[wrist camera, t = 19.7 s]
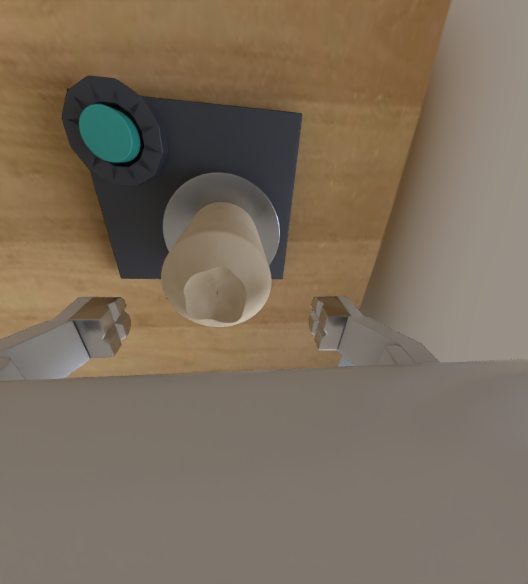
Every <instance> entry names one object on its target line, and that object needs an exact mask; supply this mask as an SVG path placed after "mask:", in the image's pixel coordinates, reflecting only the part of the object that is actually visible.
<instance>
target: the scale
mask: <svg viewBox="0 0 528 584" xmlns="http://www.w3.org/2000/svg"><path fill="white" fill-rule="evenodd" d="M92 104H102V105H106V106H108V107H111V108H113V109H116V110H118V111H120V112H122V113H123V114H125V115H126V116H127V117H128V118H129V119H130V120H131V121H132V122H133V123H134V125H135V127H136V128H137V131H138V133H139V136H140V150H139V153H138V155H137V156H136V157H135V158H134V159H133V160H131V161H129V162H108V161H105V160H103V159H101V158H99V157H98V156H96V155H95V154H94V153H93V152H92V151H91V150H90V149H89V148H88V147H87V145H86V144H85V142H84V141H83V139H82V136H81V133H80V129H79V118H80V115H81V113H82V111H83V110H84V109H85V108H86V107H87V106H89V105H92ZM62 121H63V124H64V127H65V130H66V134H67V137H68V140H69V143H70V146H71V148H72V149H73V150H74V152H75V153H76V154H77V155H78V156H79V158H80V159H81V160H82V161H83V163H84V164H85V165H86V166H87V167H88V169H89V170H90V172H91V176H92V179H93V183H94V186H95V190H96V193H97V196H98V200H99V203H100V207H101V210H102V214H103V217H104V221H105V224H106V228H107V231H108V235H109V238H110V242H111V245H112V249H113V252H114V256H115V259H116V263H117V266H118V270H119V273H120V277H121V278H122V279H161V272H162V267H163V263H164V261H165V259H166V257H167V255H168V254H169V251H168V249H167V246H166V243H165V239H164V235H163V218H164V213H165V210H166V207H167V204H168V202H169V200H170V198H171V197H172V195H173V194H174V193H175V191H176V190H177V189H178V188H179V187H180V186H181V185H183V184H184V183H186V182H187V181H188V180H190V179H192V178H194V177H196V176H199V175H202V174H206V173H212V172H224V173H231V174H234V175H238V176H240V177H243V178H245V179H247V180H249V181H250V182H252V183H253V184H255V185H256V186H257V187H258V188H260V189H261V190H262V192H263V193H264V194H265V195H266V196H267V197H268V199H269V200H270V202H271V203H272V205H273V207H274V209H275V211H276V214H277V217H278V221H279V227H280V239H279V245H278V249H277V252H276V254H275V256H274V259H273V260H272V262H271V263H270V265H269V268H270V273H271V279H283V272H284V264H285V255H286V247H287V239H288V230H289V222H290V214H291V205H292V197H293V189H294V180H295V172H296V163H297V155H298V147H299V138H300V130H301V122H302V113H295V112H286V111H276V110H267V109H257V108H248V107H238V106H229V105H220V104H210V103H201V102H191V101H182V100H172V99H163V98H154V97H144V96H140V95H138V94H137V93H136V92H134V91H133V90H131V89H130V88H129V87H127V86H126V85H124V84H123V83H121V82H120V81H119V80H116V79H114V78H106V77H97V76H86V77H85V78H84V79H82V80H81V81H80V82H78V83H77V84H75V85H74V86H73V87H71V88H70V89H69V88H68V89H67V93H66V98H65V103H64V107H63V112H62Z"/></svg>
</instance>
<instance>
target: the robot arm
mask: <svg viewBox="0 0 528 584" xmlns="http://www.w3.org/2000/svg"><path fill="white" fill-rule="evenodd" d="M312 307H313V310H312V311H311V312H310V315H309V327H310V330H311V333H313V334H314V335H315V339H314V340H315V342H316V345H317V347H318V349H319V350H338V352H339V353H341V354H342V355H343V356H344V357H345V358H347V359H348V360H349V361H350V362H351V363H352V364H354V365H355V366H347V367H322V368H298V369H275V370H251V371H227V372H203V373H179V374H155V375H131V376H107V377H83V378H65V377H66V376H68V375H69V374H71V373H72V372H73V371H75V370H76V369H77V368H79V367H80V366H82V365H83V364H84V363H86V362H87V361H88V360H90V358H101V357H114V356H115V354H116V353H117V351H118V350H119V348H120V346H121V345H122V344H121V341H120V340H122V339H124V338H125V337H127V335H128V333H129V331H130V327H131V320H130V316H129V315H128V314H127V313H126V312H125V311H124V310H125V308H126V304H125V301H124V299H123V298H121V297H79V298H77V299H76V300H75V301H74V302H73V303H72V304H70V305H69V306H68V307H67V308H66V309H65V310H63V311H62V312H61V313H60V314H59V315H58V316H57V317H55V318H54V319H53V320H52V321H45V322H43V323H40V324H38V325H35V326H33V327H30V328H28V329H25V330H23V331H20V332H18V333H15V334H13V335H10V336H8V337H5V338H3V339H0V584H528V359H513V360H512V359H511V360H490V361H467V362H442V363H441V362H440V361H438V359H437V358H435V356H434V355H433V354H432V353H431V352H429V350H428V349H427V348H426V347H425V346H424V345H423V344H421V343H420V342H418V341H416V340H414V339H412V338H409V337H407V336H406V335H403V334H401V333H399V332H397V331H395V330H393V329H391V328H389V327H387V326H385V325H383V324H381V323H379V322H377V321H375V320H373V319H371V318H369V317H367V316H363V315H362V314H361V313H360V312H359V310H358V309H357V308H356V307H355V305H354V304H353V303H352V302H351V300H350V299H349V298H348V297H347V296H335V297H314V298H313V300H312Z"/></svg>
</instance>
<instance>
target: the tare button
mask: <svg viewBox="0 0 528 584" xmlns="http://www.w3.org/2000/svg"><path fill="white" fill-rule="evenodd" d="M79 129H80V133H81V136H82V139H83V141H84V142H85V144H86V145H87V147H88V148H89V149H90V150H91V151H92V152H93V153H94V154H95V155H96V156H98V157H99V158H101V159H103V160H105V161H108V162H129V161H131V160H133V159H134V158H135V157H136V156H137V155H138V153H139V150H140V136H139V133H138V131H137V128H136V127H135V125H134V123H133V122H132V121H131V120H130V119H129V118H128V117H127V116H126V115H125V114H123V113H122V112H120V111H118V110H116V109H113V108H111V107H108V106H106V105H102V104H92V105H89V106H87V107H86V108H85V109H84V110H83V111H82V113H81V115H80V118H79Z"/></svg>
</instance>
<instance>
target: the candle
mask: <svg viewBox="0 0 528 584" xmlns="http://www.w3.org/2000/svg"><path fill="white" fill-rule="evenodd" d="M161 283H162V288H163V291H164V293H165V296H166V298H167V299H168V301H169V303H170V304H171V305H172V306H173V308H174V309H175V310H176V311H177V312H179V313H180V314H181V315H182V316H184V317H185V318H187V319H189V320H191V321H193V322H196V323H198V324H202V325H205V326H211V327H225V326H232V325H236V324H239V323H241V322H244V321H246V320H248V319H249V318H251V317H252V316H254V315H255V314H256V313H257V312H258V311H259V310H260V309H261V308H262V307H263V305H264V304H265V302H266V301H267V299H268V296H269V294H270V289H271V273H270V268H269V265H268V262H267V259H266V256H265V253H264V250H263V247H262V244H261V241H260V238H259V235H258V232H257V229H256V226H255V224H254V222H253V220H252V218H251V217H250V215H249V214H248V213H247V212H246V211H245V210H243V209H242V208H240V207H239V206H237V205H235V204H232V203H227V202H215V203H211V204H209V205H206V206H205V207H203V208H202V209H200V210H199V211H198V212H197V213H196V214H195V216H194V217H193V218H192V220H191V221H190V223H189V224H188V226H187V227H186V229H185V230H184V232H183V233H182V234H181V236H180V237H179V239H178V240H177V242H176V243H175V245H174V246H173V248H172V249H171V251H170V252H169V254H168V255H167V257H166V259H165V261H164V263H163V267H162V272H161Z"/></svg>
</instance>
